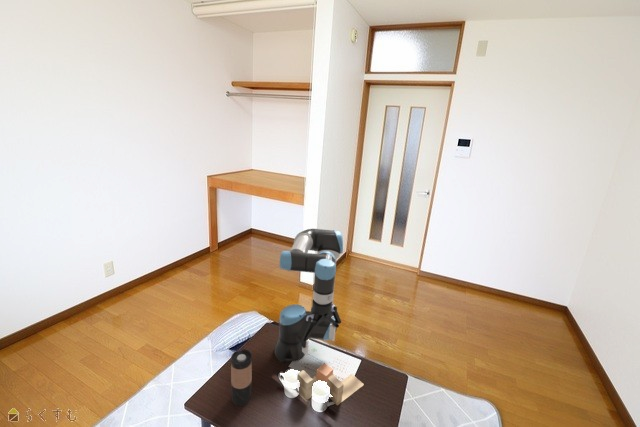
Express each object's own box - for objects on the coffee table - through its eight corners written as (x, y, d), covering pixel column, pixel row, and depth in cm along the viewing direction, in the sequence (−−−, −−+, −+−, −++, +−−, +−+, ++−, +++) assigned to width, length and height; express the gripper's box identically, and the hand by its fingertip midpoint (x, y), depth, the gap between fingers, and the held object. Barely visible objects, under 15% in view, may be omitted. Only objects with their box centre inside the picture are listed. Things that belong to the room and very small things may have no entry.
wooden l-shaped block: (324, 395, 122) (326, 377, 119) (351, 376, 132) (353, 359, 130) (337, 407, 117) (339, 389, 114) (363, 386, 127) (366, 369, 125)
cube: (315, 379, 128) (316, 369, 126) (323, 372, 132) (324, 362, 130) (325, 385, 125) (326, 376, 124) (332, 378, 129) (333, 369, 127)
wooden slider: (295, 390, 123) (296, 372, 120) (324, 371, 133) (326, 354, 131) (306, 402, 118) (307, 384, 115) (335, 382, 128) (337, 364, 126)
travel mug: (244, 409, 114) (244, 367, 108) (227, 402, 116) (226, 360, 110) (255, 393, 121) (255, 352, 115) (239, 387, 123) (238, 346, 117)
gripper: (301, 316, 103) (298, 365, 109) (353, 294, 118) (347, 339, 125) (289, 305, 108) (287, 353, 115) (340, 285, 124) (335, 329, 130)
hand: (318, 345), depth 120 cm, fingers open, 13 cm apart
